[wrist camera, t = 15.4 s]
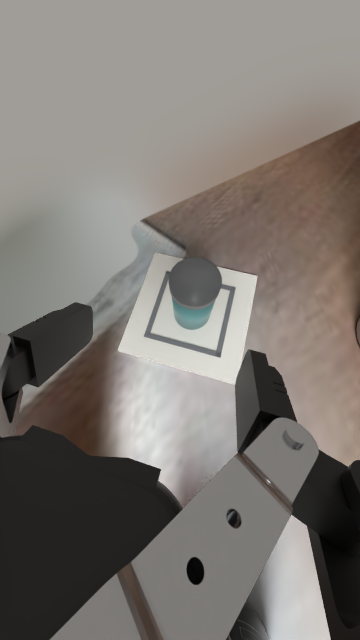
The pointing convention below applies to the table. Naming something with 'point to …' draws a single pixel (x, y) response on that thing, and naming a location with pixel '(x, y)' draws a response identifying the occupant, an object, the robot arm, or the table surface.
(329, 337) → the table surface
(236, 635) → the supplement bottle
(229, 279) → the card
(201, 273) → the teal jar
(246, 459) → the robot arm
